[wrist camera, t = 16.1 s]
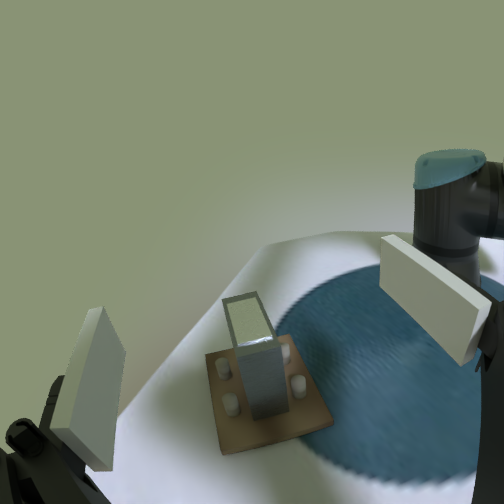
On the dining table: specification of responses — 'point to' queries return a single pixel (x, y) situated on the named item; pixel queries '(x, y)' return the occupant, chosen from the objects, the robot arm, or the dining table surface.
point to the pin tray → (238, 411)
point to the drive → (257, 355)
